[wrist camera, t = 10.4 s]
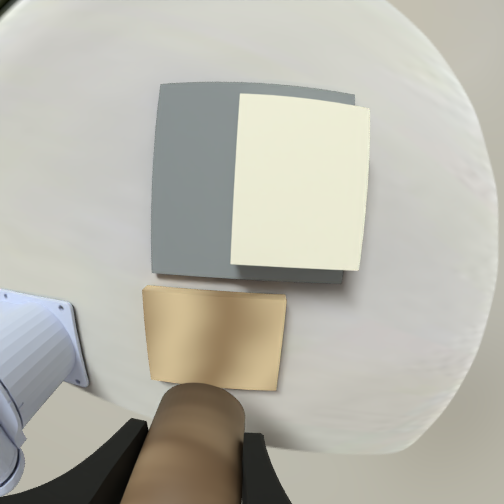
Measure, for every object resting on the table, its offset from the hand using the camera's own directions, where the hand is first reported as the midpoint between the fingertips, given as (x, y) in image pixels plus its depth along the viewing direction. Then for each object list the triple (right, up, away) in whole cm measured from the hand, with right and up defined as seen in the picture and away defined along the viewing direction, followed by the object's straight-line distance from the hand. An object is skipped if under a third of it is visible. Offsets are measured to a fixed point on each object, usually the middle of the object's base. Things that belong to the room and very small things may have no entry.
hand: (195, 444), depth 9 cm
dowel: (0, 0, +2) cm, 2 cm away
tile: (+1, +11, +6) cm, 13 cm away
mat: (+2, +11, +8) cm, 14 cm away
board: (-1, +1, +10) cm, 10 cm away
